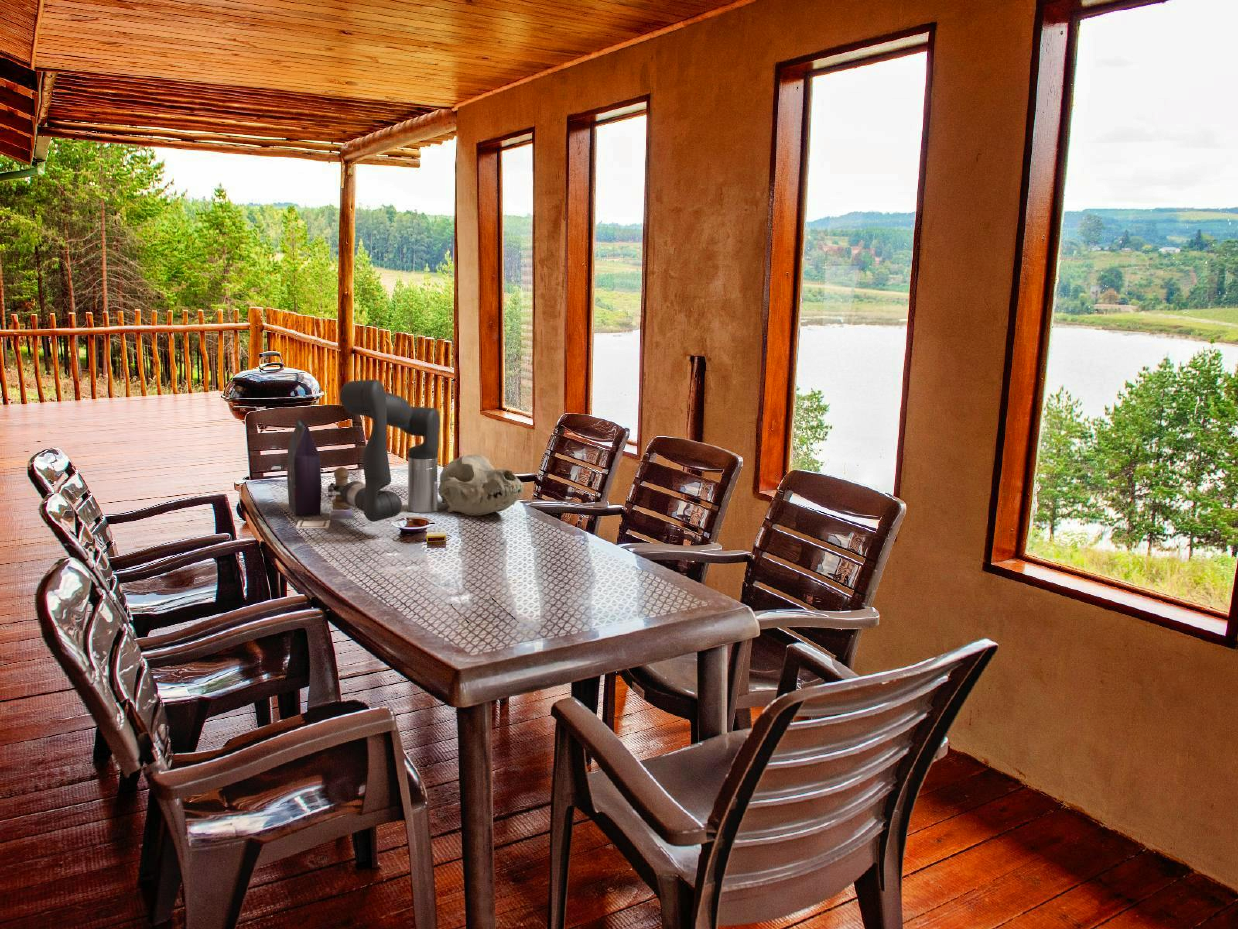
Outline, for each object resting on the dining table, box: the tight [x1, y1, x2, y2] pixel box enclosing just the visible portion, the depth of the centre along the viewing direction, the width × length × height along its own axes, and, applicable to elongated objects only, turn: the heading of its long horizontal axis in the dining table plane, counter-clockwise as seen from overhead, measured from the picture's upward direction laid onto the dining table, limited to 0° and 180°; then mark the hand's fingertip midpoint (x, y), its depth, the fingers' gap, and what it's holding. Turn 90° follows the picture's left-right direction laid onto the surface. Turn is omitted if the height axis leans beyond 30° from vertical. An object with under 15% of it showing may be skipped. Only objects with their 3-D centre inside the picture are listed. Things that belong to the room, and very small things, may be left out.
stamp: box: [332, 466, 351, 511], centre depth 288 cm, size 5×5×13 cm
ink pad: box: [328, 509, 355, 520], centre depth 289 cm, size 7×7×1 cm
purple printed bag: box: [286, 419, 323, 518], centre depth 292 cm, size 8×16×28 cm, turn 27°
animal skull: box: [438, 453, 525, 517], centre depth 301 cm, size 22×35×22 cm, turn 52°
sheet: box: [295, 519, 331, 530], centre depth 278 cm, size 9×8×1 cm
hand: (338, 485), depth 290 cm, fingers closed on stamp, 3 cm apart
